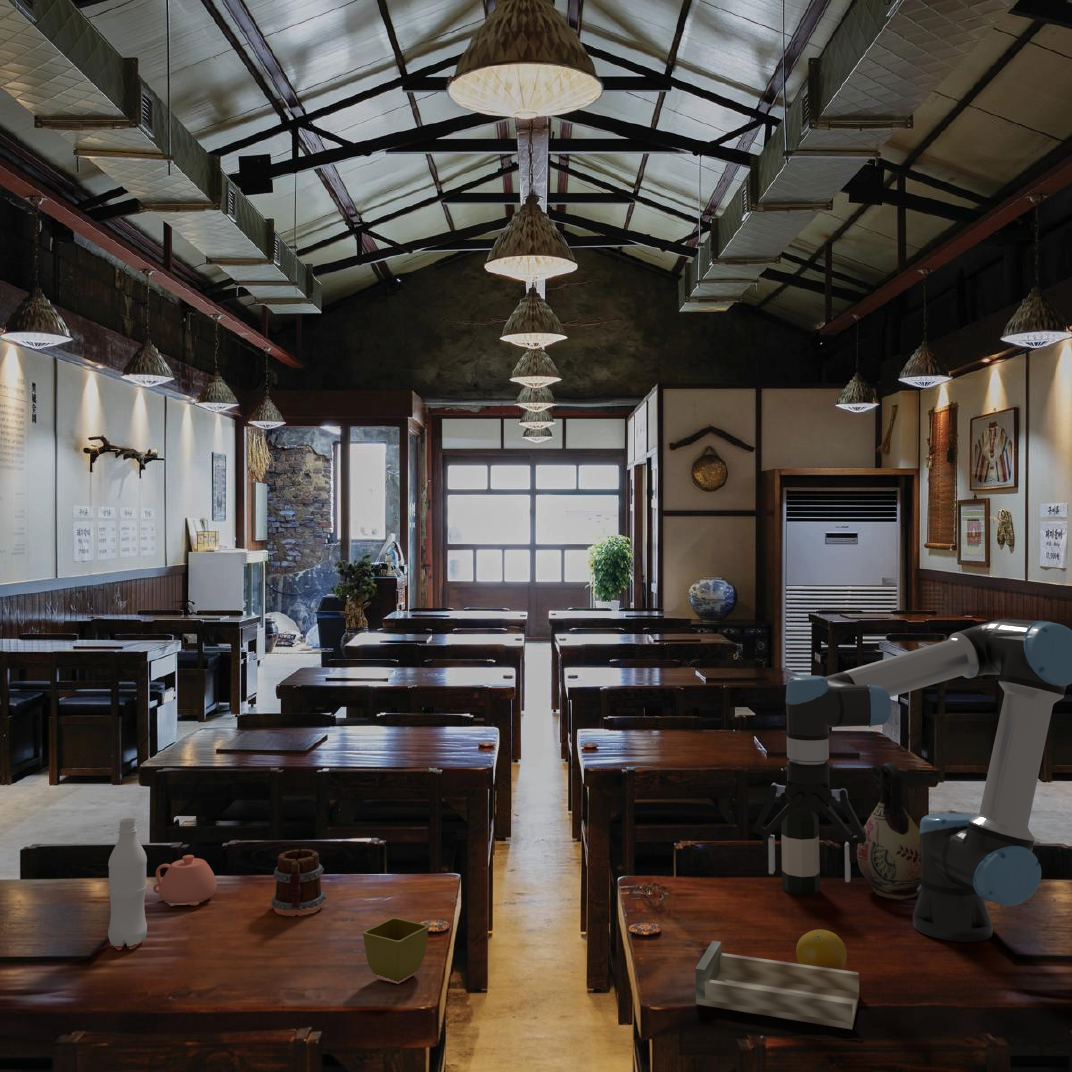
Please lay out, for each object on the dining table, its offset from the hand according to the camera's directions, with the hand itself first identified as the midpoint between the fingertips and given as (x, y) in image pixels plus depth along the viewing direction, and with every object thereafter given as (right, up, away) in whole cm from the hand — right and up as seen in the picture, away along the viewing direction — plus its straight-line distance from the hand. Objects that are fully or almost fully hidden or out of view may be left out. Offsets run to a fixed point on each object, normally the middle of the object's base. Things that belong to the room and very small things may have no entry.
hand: (809, 876), depth 185 cm
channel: (-8, -17, -13) cm, 23 cm away
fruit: (+2, -18, -3) cm, 18 cm away
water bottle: (-132, -19, +15) cm, 134 cm away
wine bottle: (+10, -19, +45) cm, 49 cm away
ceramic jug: (+30, -18, +41) cm, 54 cm away
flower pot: (-76, -18, -2) cm, 78 cm away
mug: (-102, -19, +34) cm, 110 cm away
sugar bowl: (-130, -20, +41) cm, 137 cm away
